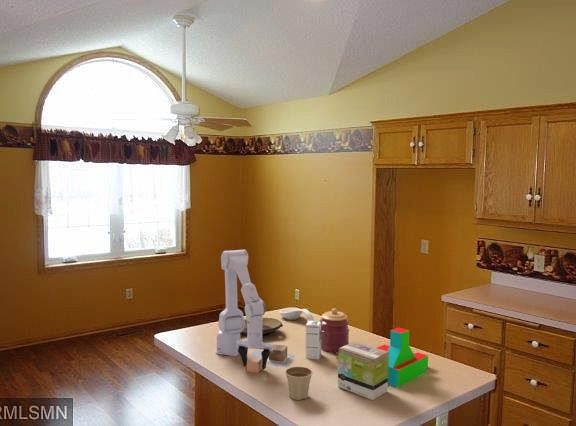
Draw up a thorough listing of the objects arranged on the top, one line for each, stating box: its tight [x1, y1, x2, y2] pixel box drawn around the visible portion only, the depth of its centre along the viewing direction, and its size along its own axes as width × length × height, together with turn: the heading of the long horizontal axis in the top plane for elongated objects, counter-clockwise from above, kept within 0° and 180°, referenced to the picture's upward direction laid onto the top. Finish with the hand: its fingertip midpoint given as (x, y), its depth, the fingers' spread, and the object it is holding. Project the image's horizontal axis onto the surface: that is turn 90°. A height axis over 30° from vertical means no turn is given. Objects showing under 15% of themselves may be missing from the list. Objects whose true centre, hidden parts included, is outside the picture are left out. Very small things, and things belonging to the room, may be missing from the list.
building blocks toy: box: [376, 327, 429, 388], centre depth 192 cm, size 19×25×18 cm
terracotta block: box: [246, 357, 263, 373], centre depth 191 cm, size 4×4×4 cm
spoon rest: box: [279, 308, 316, 323], centre depth 256 cm, size 24×12×7 cm, turn 37°
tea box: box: [337, 341, 389, 401], centre depth 174 cm, size 15×10×15 cm, turn 48°
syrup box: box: [305, 320, 322, 360], centre depth 205 cm, size 6×6×14 cm
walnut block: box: [269, 344, 288, 362], centre depth 202 cm, size 6×6×4 cm
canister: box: [319, 307, 350, 354], centre depth 216 cm, size 13×13×18 cm
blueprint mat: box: [247, 349, 297, 368], centre depth 203 cm, size 18×14×1 cm
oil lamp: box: [241, 317, 284, 335], centre depth 237 cm, size 22×30×8 cm
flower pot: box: [284, 366, 314, 401], centre depth 169 cm, size 9×9×9 cm
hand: (254, 366), depth 191 cm, fingers open, 7 cm apart
